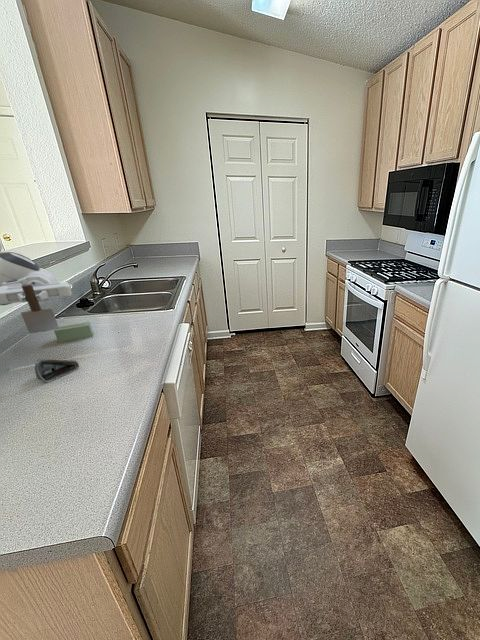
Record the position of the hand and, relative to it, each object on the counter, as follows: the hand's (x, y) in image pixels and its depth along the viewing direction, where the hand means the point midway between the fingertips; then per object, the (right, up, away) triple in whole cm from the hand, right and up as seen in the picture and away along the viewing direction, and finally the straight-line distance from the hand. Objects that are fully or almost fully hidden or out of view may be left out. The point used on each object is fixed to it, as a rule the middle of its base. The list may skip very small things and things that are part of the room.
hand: (31, 298), depth 102 cm
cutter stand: (-9, -10, +35) cm, 37 cm away
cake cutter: (0, -9, +6) cm, 11 cm away
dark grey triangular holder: (+1, -23, +9) cm, 25 cm away
